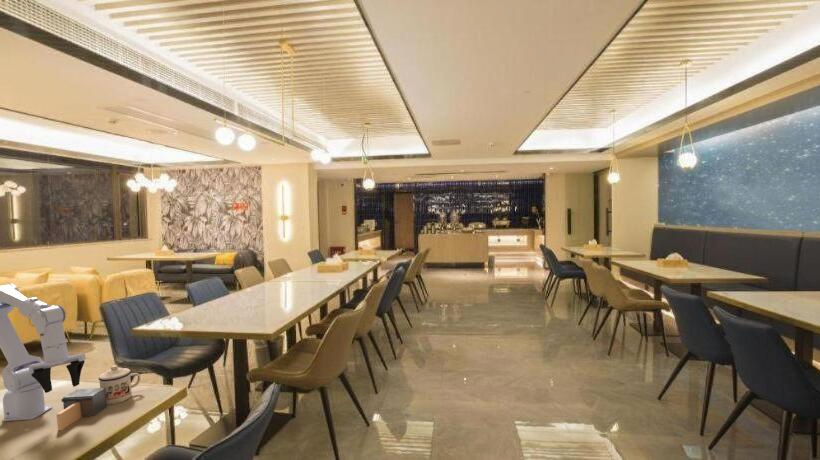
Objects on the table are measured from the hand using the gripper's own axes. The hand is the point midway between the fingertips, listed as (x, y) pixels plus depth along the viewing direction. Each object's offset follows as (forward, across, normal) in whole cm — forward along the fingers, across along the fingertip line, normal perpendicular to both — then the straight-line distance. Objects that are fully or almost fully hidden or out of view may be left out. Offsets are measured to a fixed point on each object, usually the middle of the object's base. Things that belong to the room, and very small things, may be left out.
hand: (62, 388), depth 130 cm
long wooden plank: (+10, +2, 0) cm, 11 cm away
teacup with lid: (+11, +9, +14) cm, 20 cm away
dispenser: (+10, +2, +5) cm, 12 cm away
